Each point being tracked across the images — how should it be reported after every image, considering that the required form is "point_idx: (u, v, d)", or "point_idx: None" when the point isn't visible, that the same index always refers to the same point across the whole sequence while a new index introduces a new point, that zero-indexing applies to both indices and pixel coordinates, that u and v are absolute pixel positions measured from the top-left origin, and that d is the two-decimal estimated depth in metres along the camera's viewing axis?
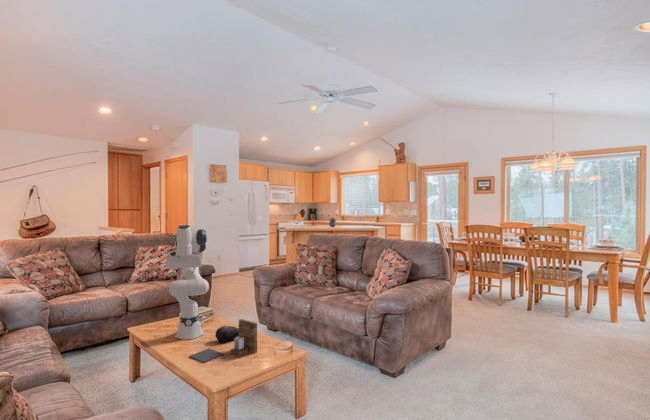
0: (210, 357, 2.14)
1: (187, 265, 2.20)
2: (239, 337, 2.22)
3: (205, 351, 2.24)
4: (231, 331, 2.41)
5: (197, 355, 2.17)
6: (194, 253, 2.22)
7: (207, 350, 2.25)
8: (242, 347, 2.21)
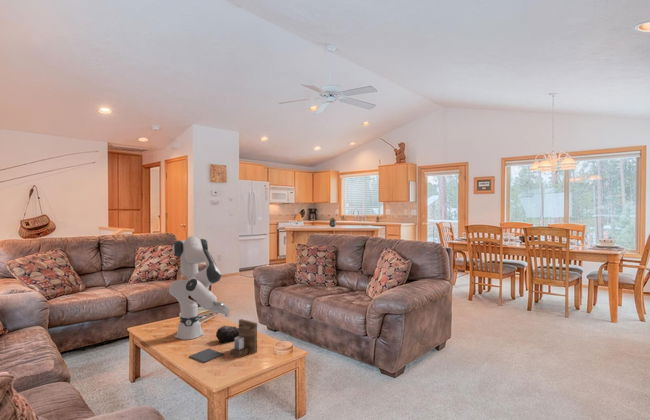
0: (210, 357, 2.14)
1: (217, 312, 2.05)
2: (239, 337, 2.22)
3: (205, 351, 2.24)
4: (232, 331, 2.41)
5: (197, 355, 2.17)
6: (215, 304, 1.99)
7: (207, 350, 2.25)
8: (242, 347, 2.21)
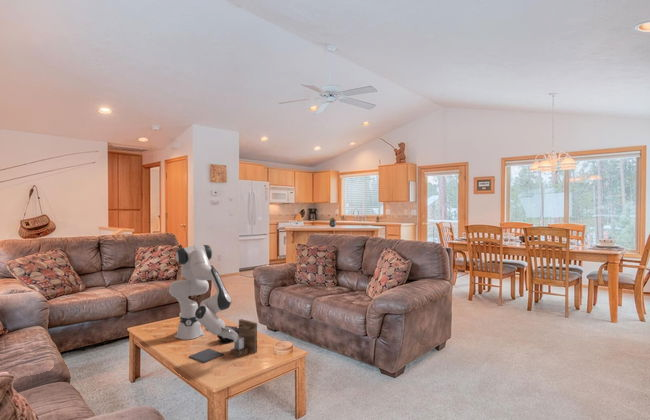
0: (210, 357, 2.14)
1: (225, 337, 2.10)
2: (239, 337, 2.22)
3: (205, 351, 2.24)
4: None
5: (197, 355, 2.17)
6: (224, 330, 2.04)
7: (207, 350, 2.25)
8: (242, 347, 2.21)
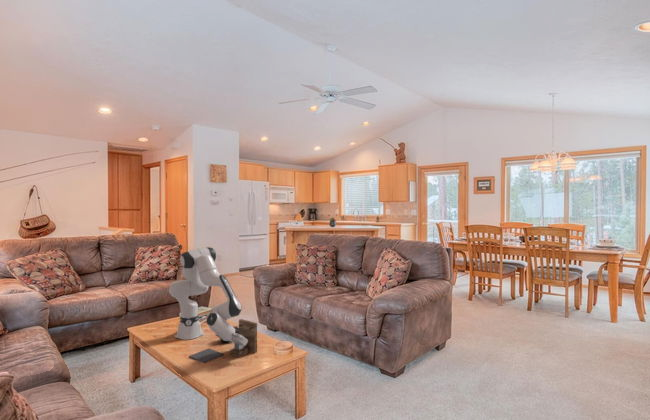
0: (210, 357, 2.14)
1: (235, 342, 2.16)
2: None
3: (205, 351, 2.24)
4: None
5: (197, 355, 2.17)
6: (234, 336, 2.10)
7: (207, 350, 2.25)
8: (242, 347, 2.21)
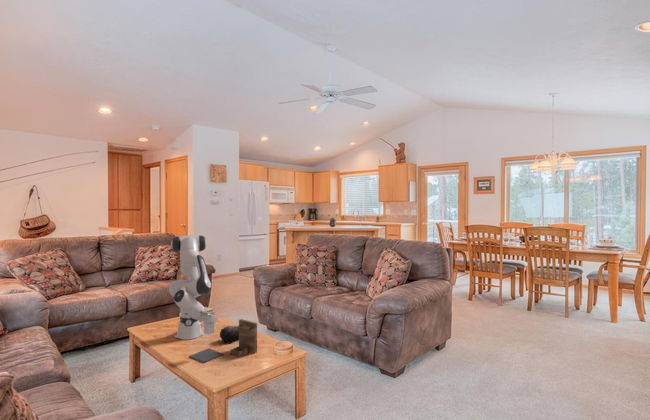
0: (210, 357, 2.14)
1: (204, 321, 2.13)
2: None
3: (205, 351, 2.24)
4: (236, 331, 2.42)
5: (197, 355, 2.17)
6: (203, 313, 2.08)
7: (207, 350, 2.25)
8: (212, 326, 2.18)
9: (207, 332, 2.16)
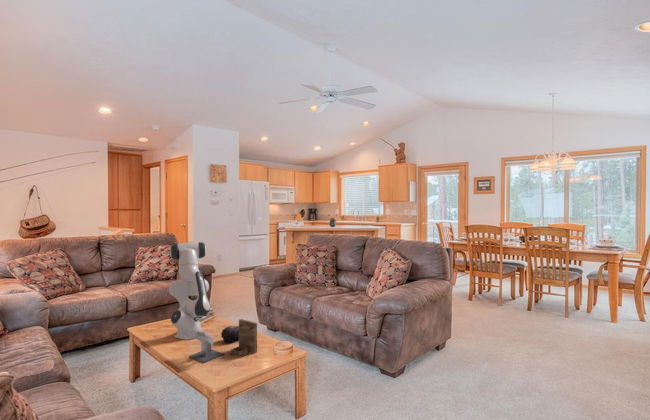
0: (210, 357, 2.14)
1: (201, 340, 2.13)
2: None
3: None
4: (237, 331, 2.42)
5: (197, 355, 2.17)
6: (200, 334, 2.07)
7: None
8: (209, 348, 2.18)
9: (204, 354, 2.16)
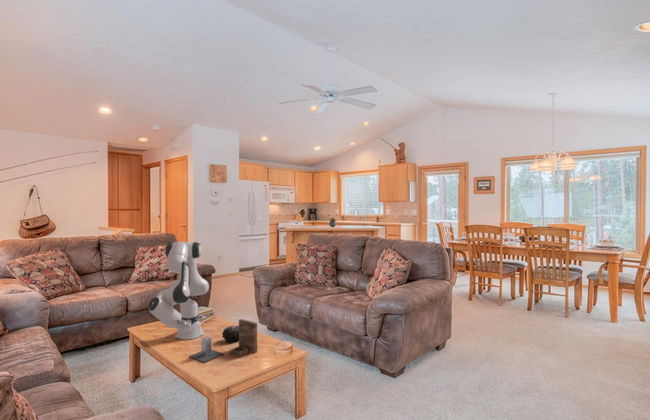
0: (210, 357, 2.14)
1: (181, 330, 2.02)
2: (206, 337, 2.18)
3: None
4: None
5: (197, 355, 2.17)
6: (179, 322, 1.97)
7: None
8: (209, 348, 2.18)
9: (204, 354, 2.16)
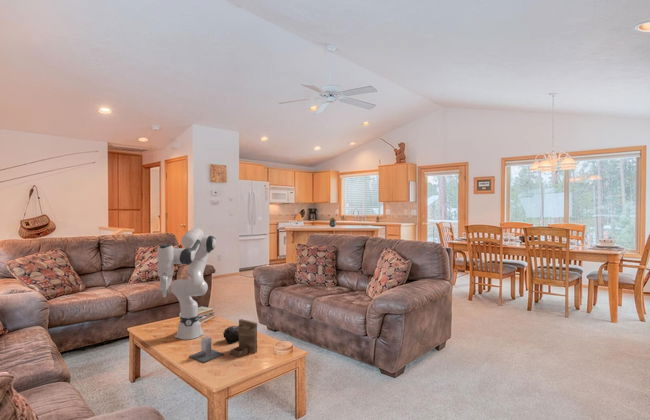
0: (210, 357, 2.14)
1: None
2: (206, 337, 2.18)
3: None
4: None
5: (197, 355, 2.17)
6: (163, 275, 2.10)
7: None
8: (209, 348, 2.18)
9: (204, 354, 2.16)
